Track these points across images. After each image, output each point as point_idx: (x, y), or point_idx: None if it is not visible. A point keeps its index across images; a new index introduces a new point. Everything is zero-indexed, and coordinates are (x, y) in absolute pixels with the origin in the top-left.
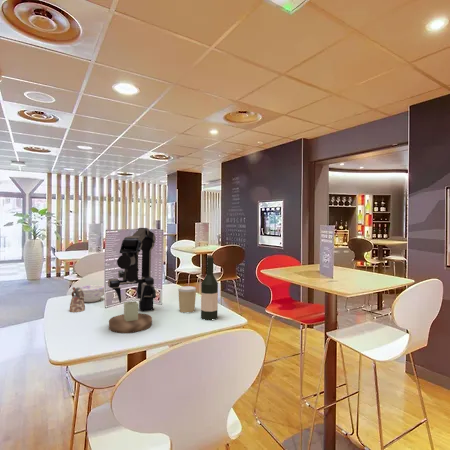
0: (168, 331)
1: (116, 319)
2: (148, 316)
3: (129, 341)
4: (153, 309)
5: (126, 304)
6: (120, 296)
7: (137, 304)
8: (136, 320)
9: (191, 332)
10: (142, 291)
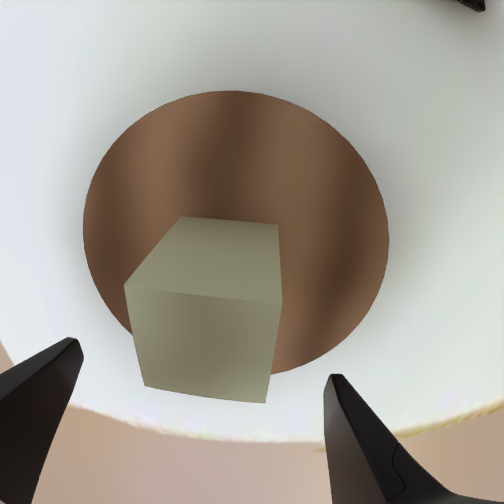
0: (359, 393)
1: (127, 217)
2: (367, 272)
3: (183, 404)
4: (480, 10)
5: (145, 370)
6: (53, 428)
7: (256, 398)
8: None
9: (406, 418)
10: (345, 496)
